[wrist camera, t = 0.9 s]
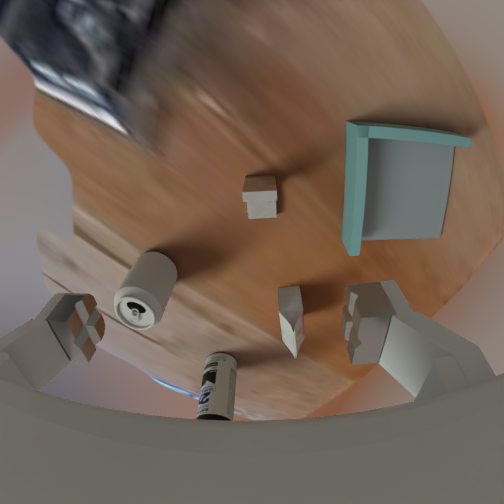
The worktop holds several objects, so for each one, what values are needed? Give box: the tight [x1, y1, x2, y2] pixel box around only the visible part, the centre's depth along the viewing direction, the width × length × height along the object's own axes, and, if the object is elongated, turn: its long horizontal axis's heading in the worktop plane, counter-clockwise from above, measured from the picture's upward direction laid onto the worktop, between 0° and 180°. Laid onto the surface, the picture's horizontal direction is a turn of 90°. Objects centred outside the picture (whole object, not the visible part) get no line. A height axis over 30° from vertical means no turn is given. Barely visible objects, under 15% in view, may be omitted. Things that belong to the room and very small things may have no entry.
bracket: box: [242, 174, 277, 219], centre depth 39 cm, size 6×4×7 cm, turn 4°
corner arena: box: [342, 121, 472, 256], centre depth 38 cm, size 18×18×5 cm
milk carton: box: [278, 286, 305, 358], centre depth 47 cm, size 4×7×10 cm, turn 9°
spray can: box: [196, 353, 237, 421], centre depth 52 cm, size 7×7×20 cm
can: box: [114, 252, 177, 330], centre depth 44 cm, size 8×8×12 cm
